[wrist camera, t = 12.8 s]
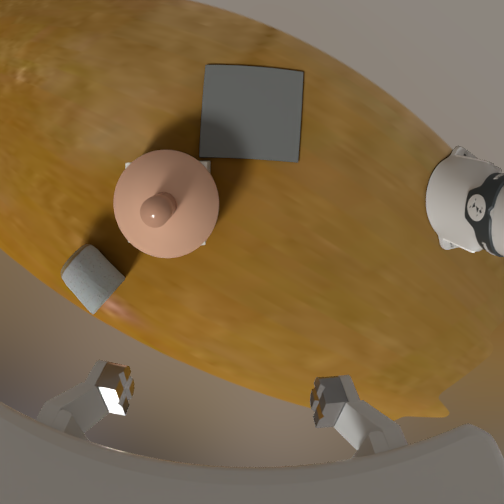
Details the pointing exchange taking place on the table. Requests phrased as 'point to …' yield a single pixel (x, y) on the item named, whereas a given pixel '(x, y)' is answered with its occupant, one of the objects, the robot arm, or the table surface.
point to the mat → (251, 113)
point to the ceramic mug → (91, 277)
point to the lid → (166, 203)
